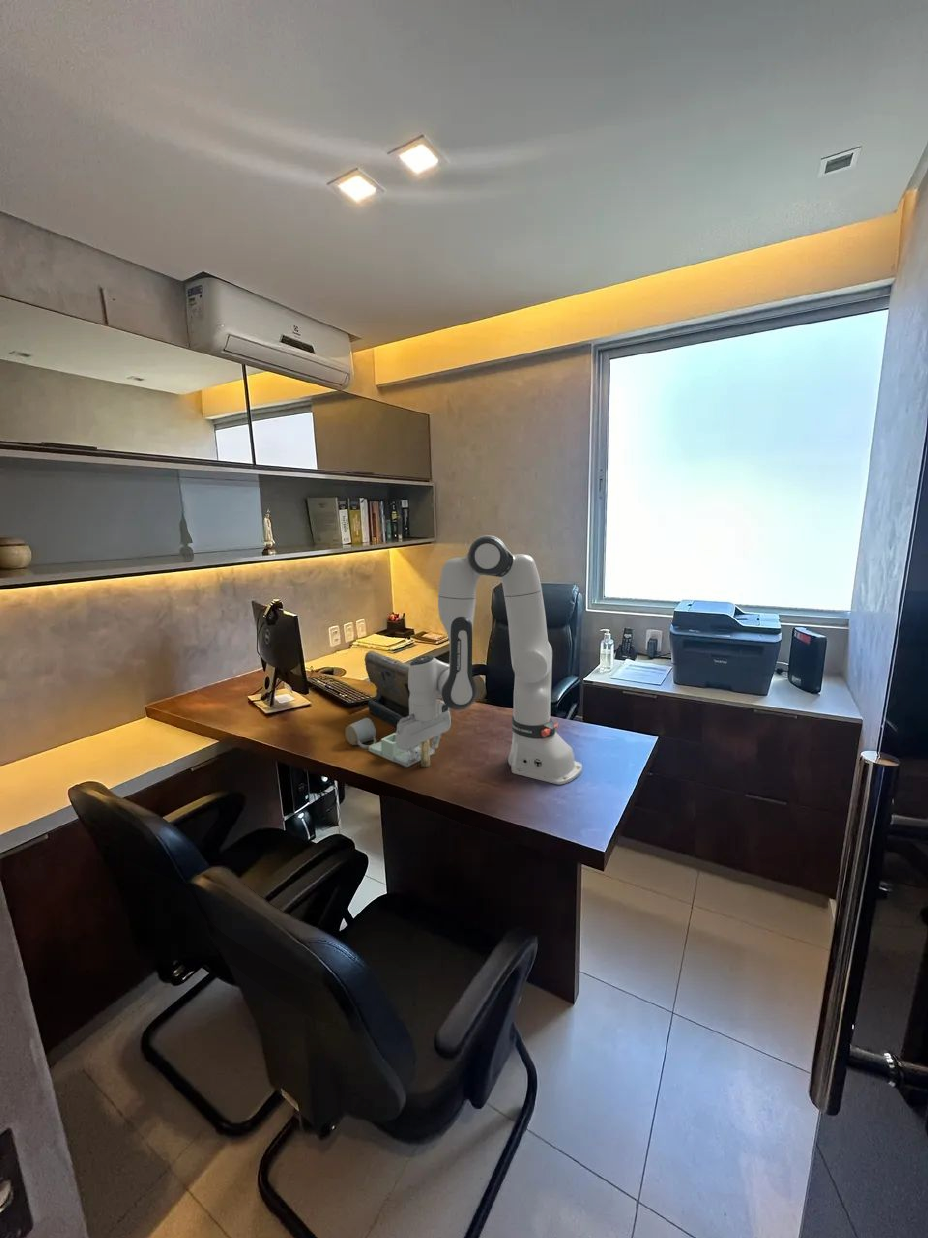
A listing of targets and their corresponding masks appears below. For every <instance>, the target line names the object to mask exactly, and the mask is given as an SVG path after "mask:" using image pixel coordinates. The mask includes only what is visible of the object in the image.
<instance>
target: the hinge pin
mask: <svg viewBox="0 0 928 1238" xmlns="http://www.w3.org/2000/svg"><path fill="white" fill-rule="evenodd" d="M430 747H431V742H430V739H428V740H426V741H424V742H422V743H420V750H421V761H420V767H422V768H428V767H430V766H431V755H430Z"/></svg>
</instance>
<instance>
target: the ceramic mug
mask: <svg viewBox="0 0 928 1238" xmlns="http://www.w3.org/2000/svg"><path fill="white" fill-rule="evenodd" d="M344 733H345V738H346V739H347V740H346V741H347V742H348V743H349V744H350V745H351V746H359V747H360V748H362V749H363V750H364V749H365V750H369V746H371V745H373V744H375V743H377V738H376V736H377V731H376V726H375V724H374V722H373V721H372V719H371V718H369V717H364V718H362V719H360V720H357V721H355V722H353V723H350V724H349V725H348V726H346V728H345V732H344ZM372 740H373V743H372V744H370V745H369V744H368V745H367V744H364V743H367V742H370V741H372Z"/></svg>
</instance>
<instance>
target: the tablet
mask: <svg viewBox="0 0 928 1238" xmlns="http://www.w3.org/2000/svg"><path fill="white" fill-rule="evenodd" d="M364 664H365V670H366V674H367V677H368V680H369V682H370V683H372V684H374V686H375V688H376V690H375V692H376V694H375V697H373V698H371V699H368V702H367V704H368V713H369V714H370V715H372V716H374V717H376V718H378V719H379V720H381V721H383V722H384V723H386V724H388V725H390V726H392V727H394V728H395V729H397V724H398V723H399V721H400V720H401V719H402V718H405V717H407V716H409V696H410V692H409V689H408V671H409V666H410V664H409V663H406V662H402V661H401V660H398V659H395V658H392V657H389V656H387V655H383V654H381V653H378V652H377V651H374V650H369V651H367V652H366V654H365V656H364Z"/></svg>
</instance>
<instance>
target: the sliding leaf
mask: <svg viewBox="0 0 928 1238" xmlns="http://www.w3.org/2000/svg"><path fill="white" fill-rule="evenodd" d="M414 751H415V752H418V757H417V758H415V759H412V758H411V757H410V752H409V750H408V749H407V751H406V752H403V753H401V754H399V755H397V756H395V757H394V762H393V763H396V764H398V765H401V766H403V767H405V768H409V767H411V766H412V765H414V764H417V763H418V762H421V750H420V744H418V745H415V749H414ZM434 754H435V749H434V748H431V746H430V756H432V755H434Z"/></svg>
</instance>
